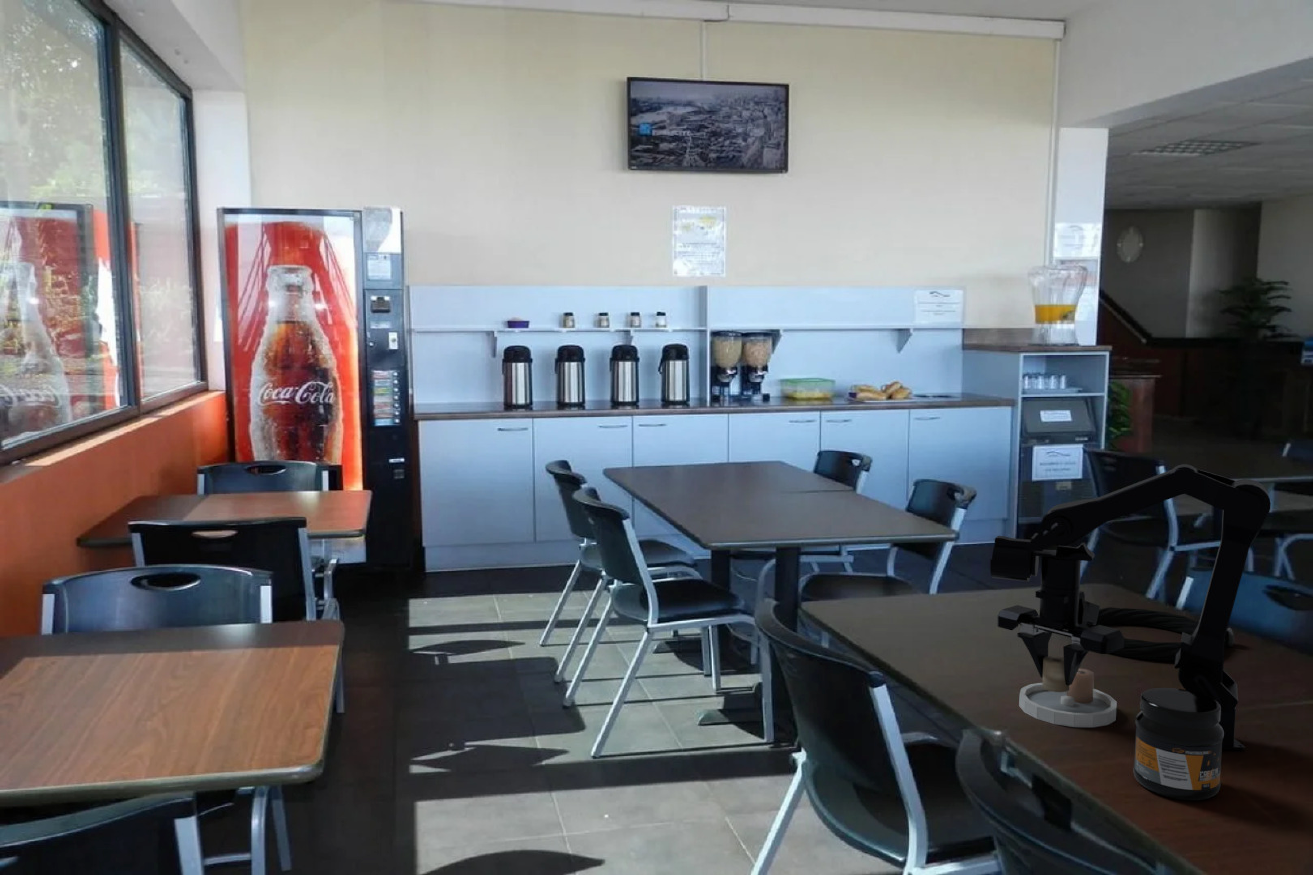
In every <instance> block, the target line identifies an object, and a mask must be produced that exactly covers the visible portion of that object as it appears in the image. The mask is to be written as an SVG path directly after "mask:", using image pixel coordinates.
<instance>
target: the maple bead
mask: <svg viewBox="0 0 1313 875" xmlns="http://www.w3.org/2000/svg"><path fill="white" fill-rule="evenodd" d="M1041 683H1042V687H1043V688H1044V689H1046V690H1049V691H1053V692H1066V691H1069V686H1067V685H1066V682H1065V676H1064V656H1056V655H1048V656H1047V657H1044V658H1043V678H1042V682H1041Z"/></svg>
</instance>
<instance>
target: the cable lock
mask: <svg viewBox="0 0 1313 875" xmlns="http://www.w3.org/2000/svg"><path fill="white" fill-rule="evenodd" d="M1198 624H1199V621H1198V620H1196V619H1192V618H1190V617H1188V616H1185V615H1178V614H1174V613H1172V612H1171V613H1170V612H1166V611H1157V610H1151V609H1144V608H1124V607H1123V608H1121V607H1111V606H1110V607H1104V608H1103V607H1102V608H1099V612H1098V617H1097V621H1096V625H1094V624H1090V623H1089V622H1087V623H1086V624H1083V625H1081V624H1079V625H1078V627H1081V628H1085V629H1088V628H1091V627H1094V626H1097V625H1102V626H1107V625H1122V626H1123V625H1134V626H1140V627H1151V628H1158V629H1161V630H1165V631H1171V632H1176V633H1179V634H1181V635H1182V633H1183V632H1184V633H1186V634H1189V635H1191V636H1192V635H1193V633H1194V631H1195V630H1196V628H1197V626H1198ZM1067 631H1069V630H1067ZM1234 643H1235V633H1234V631H1233V630H1232V628H1231V627H1228V628H1227V631H1226V635H1225V644H1224V649H1227V648H1229V647H1230V648H1232V647H1233V645H1234ZM1180 648H1181V642H1169V641H1168V642H1167V641H1166V642H1165V641H1164V642H1163V641H1161V642H1160V641H1159V642H1155V641H1148V640H1143V639H1142V640H1141V639H1132V638H1126V637H1124V648H1121V649H1119V650H1116V651H1113V652H1111V653H1110V655H1111V654H1112V655H1116V656H1119V657H1122V658H1132V659H1133V658H1134V659H1137V660H1144V661H1152V662H1154V661H1155V662H1160V661H1162V662H1175V658H1176V654H1177V653H1178V652H1179V650H1180Z"/></svg>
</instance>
